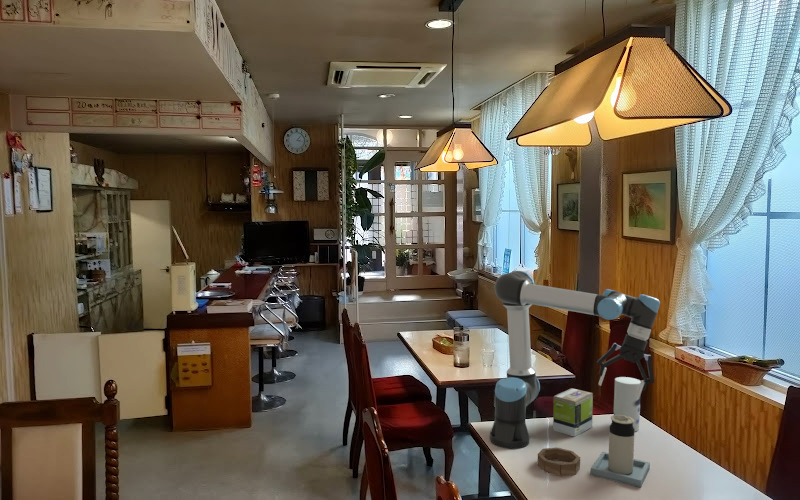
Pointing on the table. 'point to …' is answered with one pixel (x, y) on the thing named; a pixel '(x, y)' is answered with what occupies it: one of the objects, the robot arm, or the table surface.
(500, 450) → the table surface
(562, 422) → the tea box
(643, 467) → the tray
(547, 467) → the mug holder
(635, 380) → the container
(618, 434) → the travel mug
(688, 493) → the table surface
